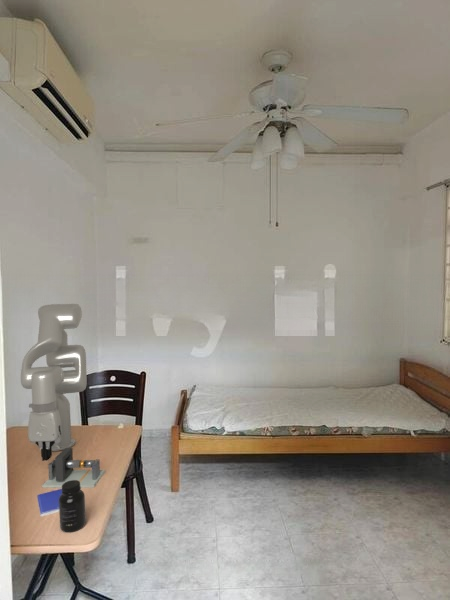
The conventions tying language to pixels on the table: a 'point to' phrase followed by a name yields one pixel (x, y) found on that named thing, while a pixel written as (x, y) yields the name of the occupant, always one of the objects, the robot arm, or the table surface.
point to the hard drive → (49, 502)
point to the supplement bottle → (72, 507)
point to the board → (79, 475)
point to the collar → (63, 464)
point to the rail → (77, 464)
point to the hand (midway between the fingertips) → (46, 458)
